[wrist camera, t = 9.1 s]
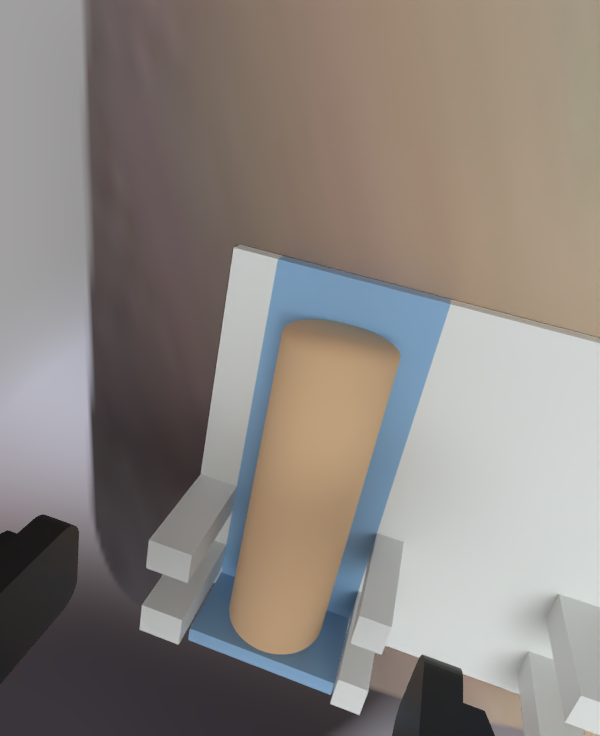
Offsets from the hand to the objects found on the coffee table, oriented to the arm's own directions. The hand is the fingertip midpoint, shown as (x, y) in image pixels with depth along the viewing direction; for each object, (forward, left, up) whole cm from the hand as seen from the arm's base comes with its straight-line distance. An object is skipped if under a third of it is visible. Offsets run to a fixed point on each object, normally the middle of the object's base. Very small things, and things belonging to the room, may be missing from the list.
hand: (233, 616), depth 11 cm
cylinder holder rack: (+2, +3, -10) cm, 10 cm away
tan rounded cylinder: (+2, 0, -9) cm, 9 cm away
